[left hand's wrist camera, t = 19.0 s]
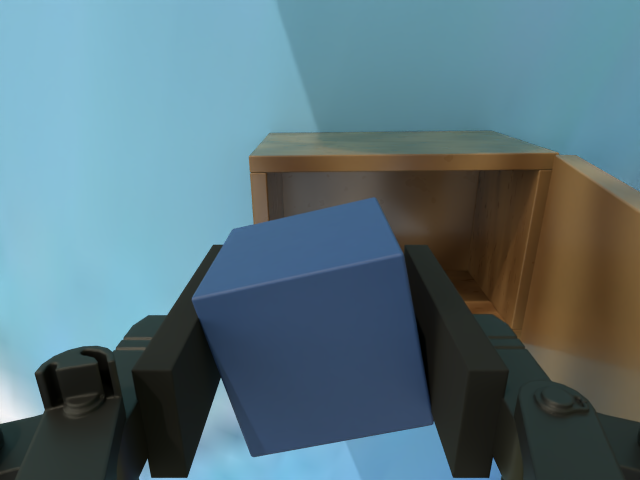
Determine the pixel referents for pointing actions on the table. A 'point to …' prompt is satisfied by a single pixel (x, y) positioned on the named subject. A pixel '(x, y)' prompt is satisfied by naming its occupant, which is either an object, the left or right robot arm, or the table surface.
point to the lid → (588, 288)
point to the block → (315, 329)
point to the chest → (424, 199)
